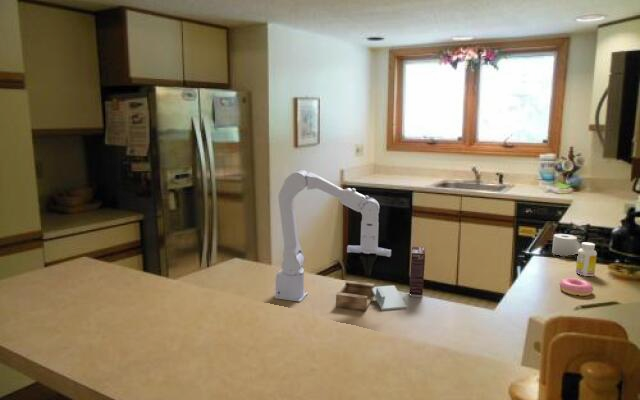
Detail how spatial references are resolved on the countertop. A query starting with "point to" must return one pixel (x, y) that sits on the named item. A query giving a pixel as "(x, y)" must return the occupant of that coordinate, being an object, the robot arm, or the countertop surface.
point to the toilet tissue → (565, 245)
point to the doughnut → (576, 286)
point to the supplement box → (417, 272)
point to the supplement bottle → (586, 259)
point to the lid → (388, 297)
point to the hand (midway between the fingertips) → (368, 274)
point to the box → (355, 296)
